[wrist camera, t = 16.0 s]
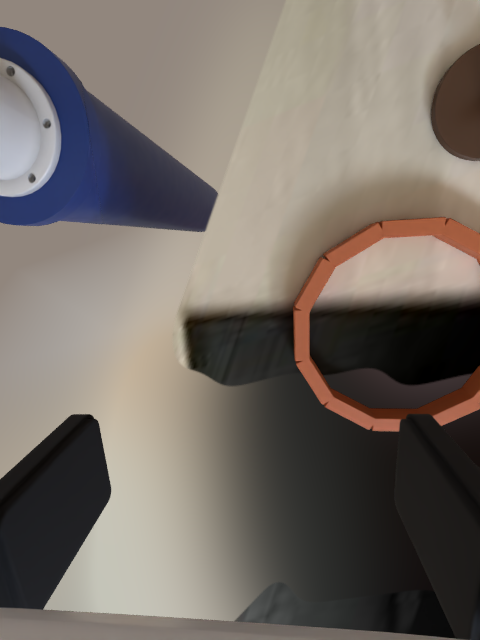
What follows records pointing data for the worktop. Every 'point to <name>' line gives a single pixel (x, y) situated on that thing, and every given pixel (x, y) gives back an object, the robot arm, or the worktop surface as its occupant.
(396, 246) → the worktop surface
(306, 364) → the ring
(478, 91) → the ring post
